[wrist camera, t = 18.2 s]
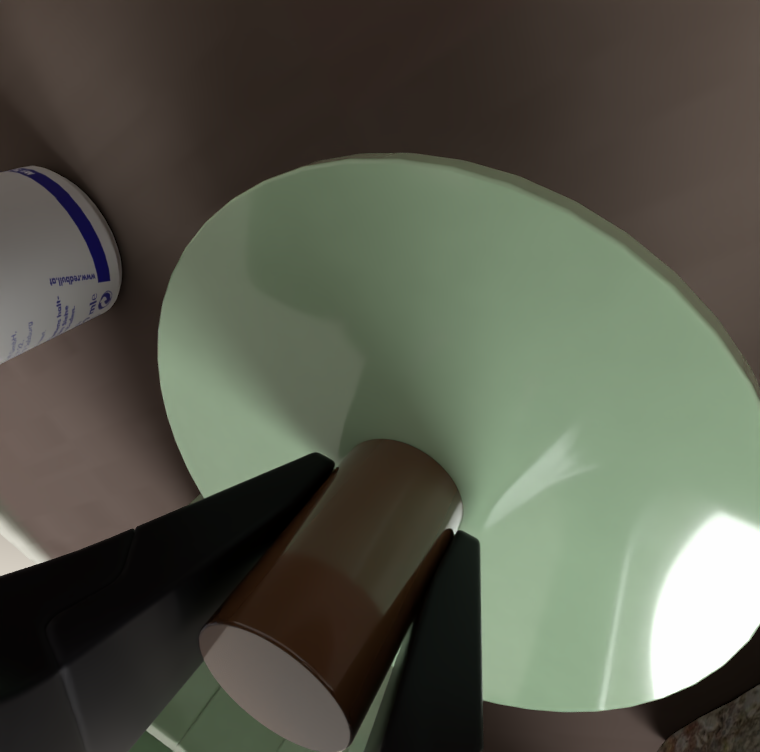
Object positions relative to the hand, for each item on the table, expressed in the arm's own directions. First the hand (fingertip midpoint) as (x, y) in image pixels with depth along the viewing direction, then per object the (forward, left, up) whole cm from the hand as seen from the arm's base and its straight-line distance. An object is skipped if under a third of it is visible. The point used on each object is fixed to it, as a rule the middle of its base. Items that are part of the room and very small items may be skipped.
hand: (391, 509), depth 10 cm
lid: (0, 0, -1) cm, 1 cm away
